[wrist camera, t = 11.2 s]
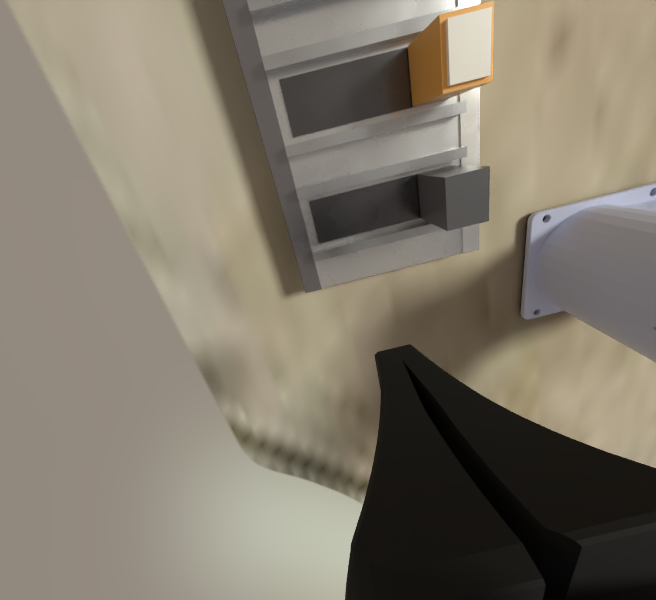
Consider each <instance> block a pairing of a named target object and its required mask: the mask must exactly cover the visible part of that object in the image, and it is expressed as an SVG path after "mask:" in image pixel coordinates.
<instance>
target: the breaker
mask: <svg viewBox="0 0 656 600" xmlns="http://www.w3.org/2000/svg"><path fill="white" fill-rule="evenodd" d="M417 179H418V191H419V203H420V215H421V219H423V220H425V221H427V222H429V223H431V224H433V225H435V226H438V227H440V228H442V229H444V230H446V231H450V230H454V229H458V228H462V227H466V226H470V225H474V224H478V223H482V222H486V221H489V180H490V167H489V166H462V165H452V166H448V167H444V168H440V169H436V170H432V171H428V172H424V173H420V174H417Z"/></svg>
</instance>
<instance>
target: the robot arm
mask: <svg viewBox="0 0 656 600" xmlns="http://www.w3.org/2000/svg"><path fill="white" fill-rule="evenodd" d="M650 191H651V192H650ZM545 215H546V218H545V220H544V221H543V217H544V216H545ZM535 310H536V311H535ZM534 311H535V312H534ZM561 311H565V312H567V313H569V314H571V315H572V316H574V317H576V318H578V319H579V320H581V321H583V322H585V323H587V324H588V325H590V326H592V327H594V328H595V329H597V330H599V331H601V332H603V333H604V334H606V335H608V336H610V337H611V338H613V339H615V340H617V341H619V342H620V343H622V344H624V345H626V346H627V347H629V348H631V349H633V350H635V351H636V352H638V353H640V354H642V355H643V356H645V357H647V358H649V359H651V360H652V361H654V362H656V182H654V183H650V184H646V185H642V186H638V187H634V188H630V189H626V190H622V191H618V192H614V193H610V194H606V195H602V196H598V197H594V198H590V199H586V200H582V201H578V202H574V203H570V204H566V205H562V206H558V207H554V208H550V209H546V210H542V211H538V212H535V213H533V214H531V215H530V217H529V218H528V223H527V236H526V249H525V262H524V275H523V289H522V302H521V316H522V317H523V318H524V319H527V320H528V319H533V318H537V317H541V316H545V315H549V314H553V313H557V312H561ZM375 360H376V366H377V371H378V377H379V383H380V389H381V405H380V421H379V431H378V438H377V445H376V451H375V457H374V462H373V467H372V472H371V476H370V480H369V484H368V488H367V492H366V496H365V500H364V504H363V507H362V511H361V514H360V517H359V520H358V523H357V527H356V530H355V533H354V536H353V539H352V543H351V552H350V559H349V566H348V574H347V583H346V595H345V600H656V468H653V467H650V466H647V465H644V464H641V463H638V462H635V461H632V460H629V459H626V458H623V457H620V456H617V455H614V454H611V453H608V452H605V451H603V450H600V449H597V448H595V447H592V446H589V445H587V444H584V443H582V442H579V441H576V440H574V439H571V438H569V437H566V436H564V435H562V434H559V433H557V432H554V431H552V430H550V429H548V428H545V427H543V426H541V425H539V424H536V423H534V422H532V421H530V420H528V419H525V418H523V417H521V416H519V415H517V414H515V413H513V412H511V411H509V410H507V409H506V408H504V407H502V406H500V405H498V404H496V403H494V402H492V401H491V400H489V399H487V398H485V397H484V396H482V395H480V394H479V393H477V392H476V391H474V390H472V389H471V388H469V387H468V386H466V385H465V384H463V383H462V382H460V381H458V380H457V379H456V378H454V377H453V376H451V375H450V374H448V373H447V372H446V371H444V370H443V369H441V368H440V367H439V366H437V365H436V364H435V363H433V362H432V361H431V360H429V359H428V358H427V357H426V356H424V355H423V354H422V353H421V352H419V351H418V350H417V349H416V348H414V347H413V346H412V345H410V344H409V345H405V346H401V347H397V348H392V349H388V350H384V351H380V352H377V353H376V354H375Z"/></svg>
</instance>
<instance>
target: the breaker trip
mask: <svg viewBox="0 0 656 600" xmlns="http://www.w3.org/2000/svg"><path fill="white" fill-rule="evenodd" d="M493 34H494V1H491V2H487V3H483V4H479V5H475V6H471V7H467V8H463V9H459V10H455V11H451V12H447V13H444V14H440V15H438V16H437V17H436V18H435V19H434V20H433V21H432V22H431V23H430V24H429V25H428V26H427V27H426V28H425V29H424V30H423V31H422V32H421V33H420V34H419V35H418V36H417V37H416V38H415V39H414V40H413V41H412V42H411V43H410V44H409V45H408V57H409V70H410V82H411V94H412V106H413V107H416V106H420V105H423V104H427V103H431V102H435V101H439V100H443V99H447V98H451V97H454V96H457V95H459V94H462V93H464V92H467V91H469V90H472V89H474V88H477V87H480V86H482V85H485V84H487V83H490V82H492V81H493Z"/></svg>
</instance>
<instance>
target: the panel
mask: <svg viewBox="0 0 656 600" xmlns="http://www.w3.org/2000/svg"><path fill="white" fill-rule="evenodd" d="M222 1H223V5H224V8H225V12H226V15H227V19H228V22H229V26H230V29H231V33H232V36H233V40H234V43H235V47H236V50H237V54H238V57H239V61H240V64H241V68H242V71H243V75H244V78H245V82H246V85H247V89H248V92H249V96H250V99H251V103H252V106H253V109H254V113H255V116H256V120H257V123H258V127H259V130H260V134H261V137H262V141H263V144H264V148H265V151H266V155H267V158H268V162H269V165H270V169H271V172H272V176H273V179H274V183H275V186H276V190H277V193H278V197H279V200H280V204H281V207H282V211H283V214H284V218H285V221H286V225H287V228H288V232H289V235H290V239H291V242H292V246H293V249H294V253H295V256H296V260H297V263H298V267H299V270H300V274H301V277H302V281H303V284H304V288H305V291H306V293H307V292H311V291H315V290H319V289H322V288H325V287H329V286H333V285H337V284H341V283H345V282H349V281H353V280H357V279H361V278H365V277H369V276H373V275H377V274H381V273H385V272H389V271H393V270H397V269H401V268H405V267H409V266H413V265H417V264H421V263H425V262H429V261H433V260H437V259H441V258H445V257H449V256H453V255H457V254H461V253H463V254H464V253H468V252H472V251H476V250H479V223H478V224H474V225H470V226H466V227H462V228H458V229H454V230H450V231H446V230H444V229H442V228H440V227H438V226H435V225H433V224H431V223H429V222H427V221H425V220H423V219H421V215H420V203H419V191H418V179H417V174H420V173H424V172H428V171H432V170H436V169H440V168H444V167H448V166H452V165H462V166H480V87H477V88H474V89H472V90H469V91H467V92H464V93H462V94H459V95H457V96H454V97H451V98H447V99H443V100H439V101H435V102H431V103H427V104H423V105H420V106H416V107H413V106H412V94H411V82H410V70H409V57H408V45H409V44H410V43H411V42H412V41H413V40H414V39H415V38H416V37H417V36H418V35H419V34H420V33H421V32H422V31H423V30H424V29H425V28H426V27H427V26H428V25H429V24H430V23H431V22H432V21H433V20H434V19H435V18H436V17H437V16H438V15H440V14H444V13H447V12H451V11H455V10H459V9H463V8H467V7H471V6H475V5H479V4H480V0H222Z"/></svg>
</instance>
